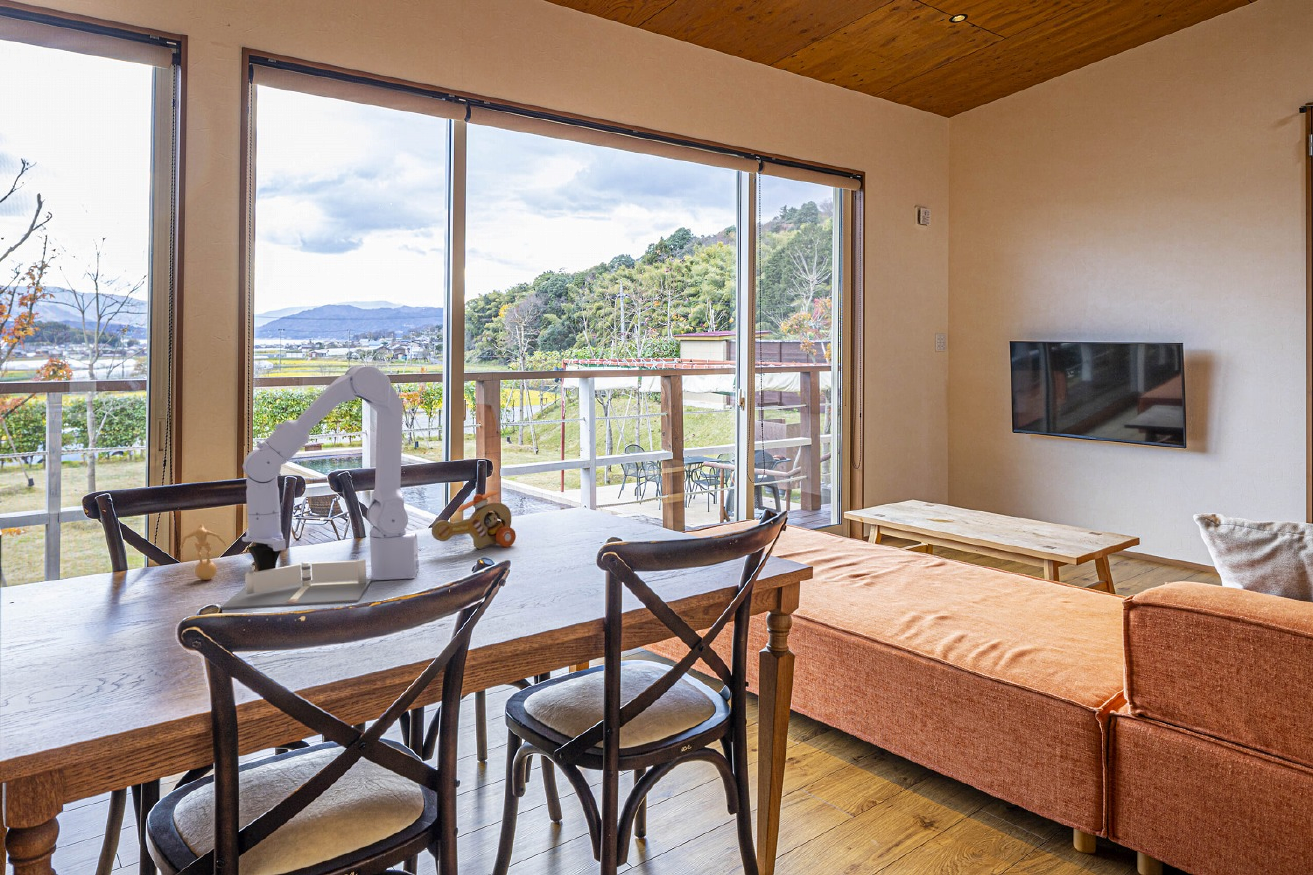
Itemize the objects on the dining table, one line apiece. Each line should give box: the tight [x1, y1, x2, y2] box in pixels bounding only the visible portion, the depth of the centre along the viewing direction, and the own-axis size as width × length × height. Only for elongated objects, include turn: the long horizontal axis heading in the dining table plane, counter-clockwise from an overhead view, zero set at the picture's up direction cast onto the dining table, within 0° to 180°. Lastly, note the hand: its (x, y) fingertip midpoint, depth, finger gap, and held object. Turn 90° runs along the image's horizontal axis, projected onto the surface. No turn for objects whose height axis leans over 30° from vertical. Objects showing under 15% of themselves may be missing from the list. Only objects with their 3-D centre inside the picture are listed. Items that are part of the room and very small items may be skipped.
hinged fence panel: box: [244, 563, 302, 594], centre depth 159 cm, size 10×1×4 cm, turn 134°
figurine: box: [179, 524, 227, 581], centre depth 168 cm, size 8×6×12 cm
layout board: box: [220, 576, 372, 610], centre depth 160 cm, size 24×16×1 cm, turn 99°
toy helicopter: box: [431, 489, 517, 550], centre depth 194 cm, size 8×21×14 cm, turn 134°
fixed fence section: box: [300, 559, 367, 586], centre depth 164 cm, size 12×2×5 cm, turn 99°
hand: (267, 581), depth 159 cm, fingers closed, pressing on hinged fence panel
